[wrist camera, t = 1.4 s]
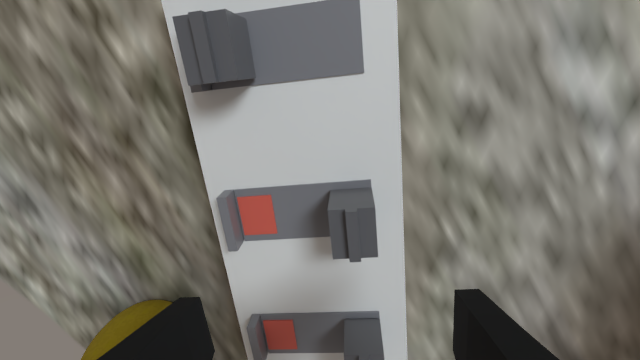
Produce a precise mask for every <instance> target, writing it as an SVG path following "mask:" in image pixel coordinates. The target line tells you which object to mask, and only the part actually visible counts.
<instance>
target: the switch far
mask: <svg viewBox="0 0 640 360" xmlns="http://www.w3.org/2000/svg"><path fill="white" fill-rule="evenodd" d="M344 360H384V351H383V342H382V334H381V325H380V319H347V320H344Z"/></svg>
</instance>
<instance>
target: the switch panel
mask: <svg viewBox="0 0 640 360" xmlns="http://www.w3.org/2000/svg"><path fill="white" fill-rule="evenodd" d="M161 2H162V6H163V10H164V14H165V18H166V22H167V26H168V31H169V35H170V39H171V43H172V47H173V51H174V55H175V60H176V64H177V68H178V72H179V76H180V80H181V85H182V89H183V93H184V97H185V101H186V105H187V109H188V114H189V118H190V122H191V126H192V130H193V134H194V138H195V143H196V147H197V151H198V155H199V159H200V163H201V167H202V172H203V176H204V180H205V184H206V188H207V192H208V196H209V201H210V205H211V209H212V213H213V217H214V221H215V226H216V230H217V234H218V238H219V242H220V246H221V250H222V255H223V259H224V263H225V267H226V271H227V275H228V279H229V284H230V288H231V292H232V296H233V300H234V304H235V308H236V313H237V317H238V321H239V325H240V329H241V333H242V337H243V342H244V346H245V350H246V354H247V358H248V360H344V320H347V319H380V325H381V334H382V342H383V351H384V360H407V331H406V297H405V263H404V229H403V195H402V161H401V127H400V93H399V59H398V25H397V0H161ZM221 9H227V10H229V11H231V12H233V13H235V14H237V15H239V16H241V17H243V18H245V19H246V21H247V27H248V33H249V39H250V45H251V51H252V57H253V63H254V69H255V75H256V78H252V79H244V80H235V81H227V82H218V83H209V84H200V85H190V86H188V82H187V78H186V73H185V69H184V65H183V61H182V56H181V52H180V48H179V44H178V39H177V35H176V31H175V27H174V22H173V18H172V17H173V16H180V15H187V14H188V12H193V11H200V10H202V11H204V12H207V11H214V10H221ZM366 187H372V192H373V198H374V203H375V212H376V229H377V245H378V257H373V258H361V262H350V260H349V259H333V256H332V247H331V238H330V229H329V220H328V211H327V210H328V203H329V197H330V191H331V190H338V189H352V188H366Z"/></svg>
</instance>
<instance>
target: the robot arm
mask: <svg viewBox="0 0 640 360" xmlns="http://www.w3.org/2000/svg"><path fill="white" fill-rule="evenodd" d="M453 351H454V355H455V359H456V360H559V359H558V358H557V357H556V356H554V355H553V354H552V353H551V352H550V351H548V350H547V349H546V348H545V347H544V346H543V345H541V344H540V343H539V342H538V341H537V340H535V339H534V338H533V337H532V336H531V335H530V334H529V333H527V332H526V331H525V330H524V329H523V328H522V327H521V326H519V325H518V324H517V323H516V322H515V321H514V320H513V319H512V318H511V317H509V316H508V315H507V314H506V313H505V312H504V311H503V310H502V309H501V308H499V307H498V306H497V305H496V304H495V303H494V302H493V301H492V300H491V299H489V298H488V297H487V296H486V295H485V294H484V293H483V292H482V291H481V290H479V289H466V290H455V299H454V331H453ZM214 352H215V350H214V346H213V343H212V339H211V335H210V332H209V328H208V325H207V321H206V318H205V314H204V311H203V307H202V304H201V300H200V297H188V298H179V299H178V300H176V301H175V302H173V303H172V304H170V305H169V306H168V307H166V308H165V309H163V310H162V311H161V312H159V313H158V314H157V315H155V316H154V317H153V318H151V319H150V320H149V321H147V322H146V323H145V324H143V325H142V326H141V327H140V328H138V329H137V330H136V331H134V332H133V333H132V334H130V335H129V336H128V337H126V338H125V339H124V340H122V341H121V342H120V343H118V344H117V345H116V346H114V347H113V348H112V349H110V350H109V351H108V352H106V353H105V354H104V355H102V356H101V357H99V358H98V359H97V360H212V358H213V355H214Z"/></svg>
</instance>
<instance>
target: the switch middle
mask: <svg viewBox="0 0 640 360" xmlns="http://www.w3.org/2000/svg"><path fill="white" fill-rule="evenodd" d="M327 211H328V220H329V229H330V238H331V247H332V256H333V259H349V260H350V262H361V258H373V257H378V245H377V229H376V212H375V203H374V198H373V192H372V187H366V188H352V189H338V190H331V191H330V197H329V203H328V210H327Z"/></svg>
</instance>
